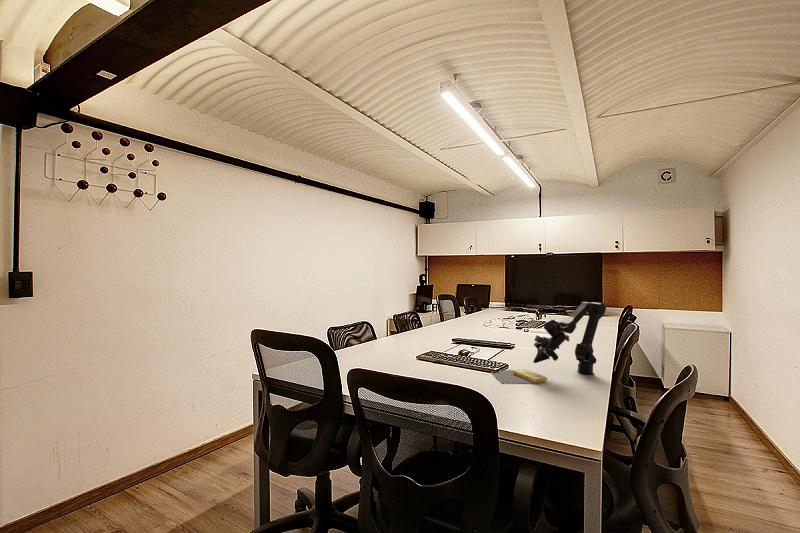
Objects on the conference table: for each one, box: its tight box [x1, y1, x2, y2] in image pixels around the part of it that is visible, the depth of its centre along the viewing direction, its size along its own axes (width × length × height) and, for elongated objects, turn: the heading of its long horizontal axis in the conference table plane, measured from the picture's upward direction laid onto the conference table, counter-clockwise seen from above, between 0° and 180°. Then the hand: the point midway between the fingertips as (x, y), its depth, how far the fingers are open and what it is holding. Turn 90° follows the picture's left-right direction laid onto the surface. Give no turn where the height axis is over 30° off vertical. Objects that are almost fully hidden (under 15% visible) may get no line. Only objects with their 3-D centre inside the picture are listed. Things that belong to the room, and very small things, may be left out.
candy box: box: [512, 368, 548, 383], centre depth 198 cm, size 16×2×8 cm
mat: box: [490, 369, 542, 385], centre depth 200 cm, size 20×22×1 cm
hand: (533, 362), depth 200 cm, fingers closed
